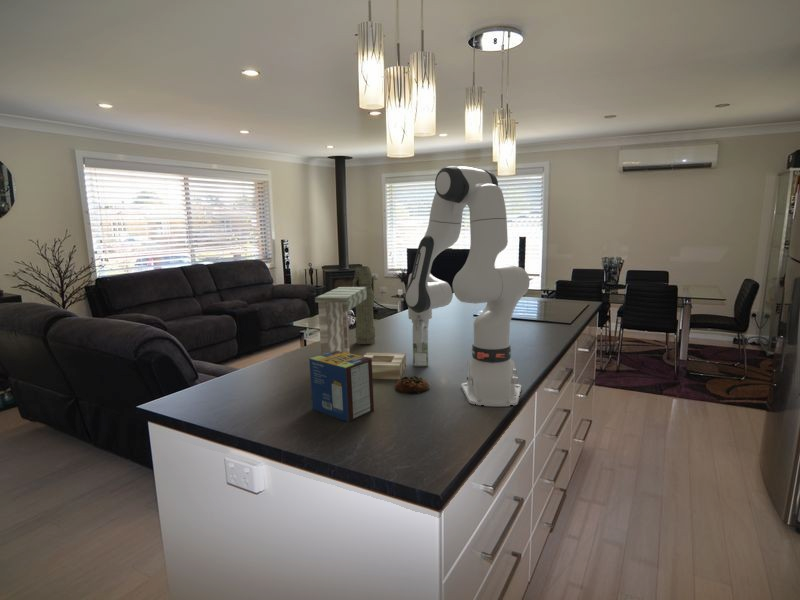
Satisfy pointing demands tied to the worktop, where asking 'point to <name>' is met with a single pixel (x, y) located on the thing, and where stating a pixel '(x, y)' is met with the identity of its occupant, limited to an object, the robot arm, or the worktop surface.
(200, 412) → the worktop surface
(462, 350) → the worktop surface
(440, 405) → the worktop surface
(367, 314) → the olive green tall block
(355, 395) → the protein box
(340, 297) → the socket stand
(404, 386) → the bread roll
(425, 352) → the syrup box
